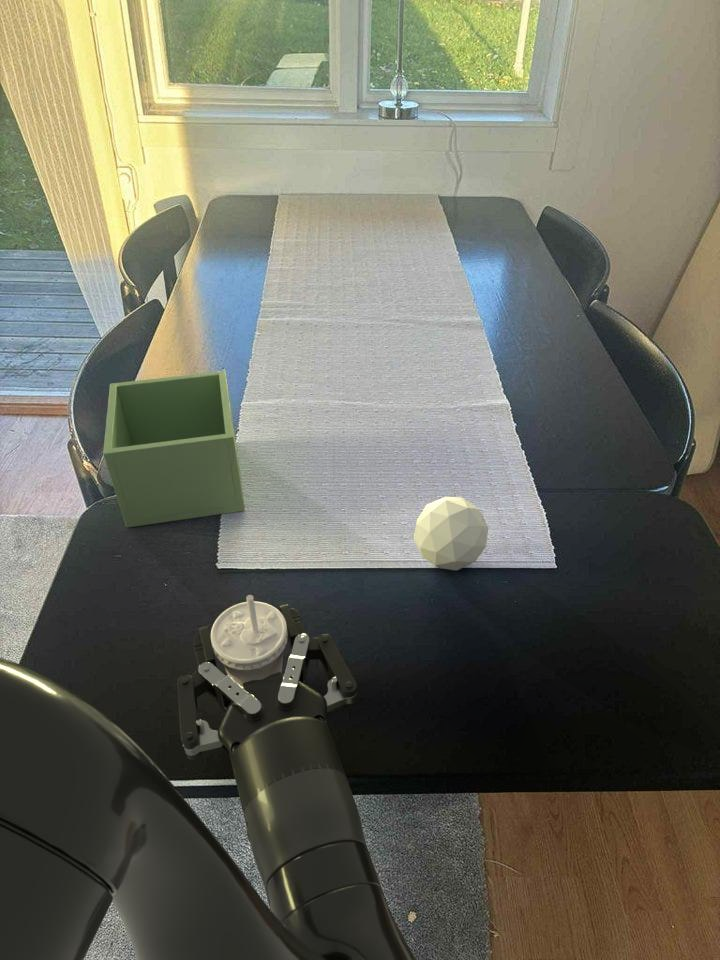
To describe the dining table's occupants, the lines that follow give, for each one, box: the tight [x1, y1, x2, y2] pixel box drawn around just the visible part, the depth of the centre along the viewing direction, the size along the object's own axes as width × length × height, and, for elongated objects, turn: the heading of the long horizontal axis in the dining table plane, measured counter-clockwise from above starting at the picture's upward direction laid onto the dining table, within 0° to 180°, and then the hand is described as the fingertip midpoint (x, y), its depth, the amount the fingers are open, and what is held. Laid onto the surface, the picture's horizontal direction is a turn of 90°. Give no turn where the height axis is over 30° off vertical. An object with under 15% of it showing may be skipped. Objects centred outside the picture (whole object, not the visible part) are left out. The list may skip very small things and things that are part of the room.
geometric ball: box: [413, 496, 489, 572], centre depth 75 cm, size 8×8×8 cm
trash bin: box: [102, 370, 246, 529], centre depth 83 cm, size 14×14×11 cm
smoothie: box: [210, 594, 288, 687], centre depth 60 cm, size 6×6×14 cm
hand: (244, 622), depth 61 cm, fingers closed on smoothie, 6 cm apart
